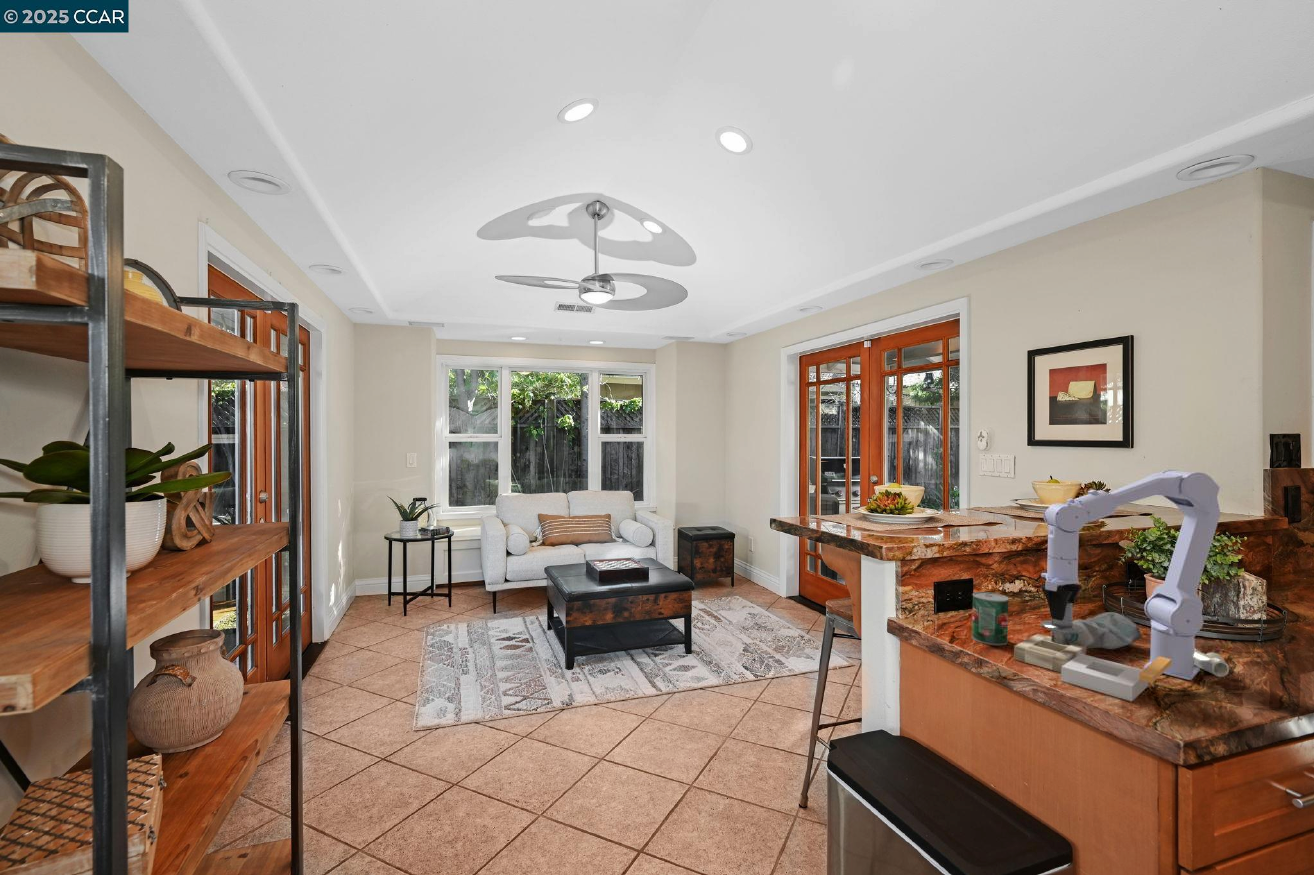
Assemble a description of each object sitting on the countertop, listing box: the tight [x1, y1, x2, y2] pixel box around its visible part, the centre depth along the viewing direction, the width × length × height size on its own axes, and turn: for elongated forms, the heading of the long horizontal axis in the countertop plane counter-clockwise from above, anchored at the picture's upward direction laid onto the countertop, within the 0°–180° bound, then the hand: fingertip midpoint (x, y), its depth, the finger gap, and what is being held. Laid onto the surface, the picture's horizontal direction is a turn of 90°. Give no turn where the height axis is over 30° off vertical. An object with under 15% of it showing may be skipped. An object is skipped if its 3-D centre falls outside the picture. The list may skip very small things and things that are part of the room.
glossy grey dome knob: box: [1040, 602, 1084, 645], centre depth 136 cm, size 8×8×9 cm
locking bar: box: [1139, 656, 1171, 684], centre depth 122 cm, size 15×2×1 cm, turn 129°
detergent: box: [1073, 611, 1143, 650], centre depth 147 cm, size 13×7×25 cm
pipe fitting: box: [1194, 648, 1230, 678], centre depth 134 cm, size 8×4×7 cm
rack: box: [1013, 633, 1087, 673], centre depth 139 cm, size 14×10×3 cm
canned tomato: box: [971, 591, 1010, 646], centre depth 151 cm, size 8×8×11 cm
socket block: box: [1060, 654, 1149, 702], centre depth 126 cm, size 12×12×3 cm
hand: (1060, 617), depth 136 cm, fingers closed on glossy grey dome knob, 4 cm apart
